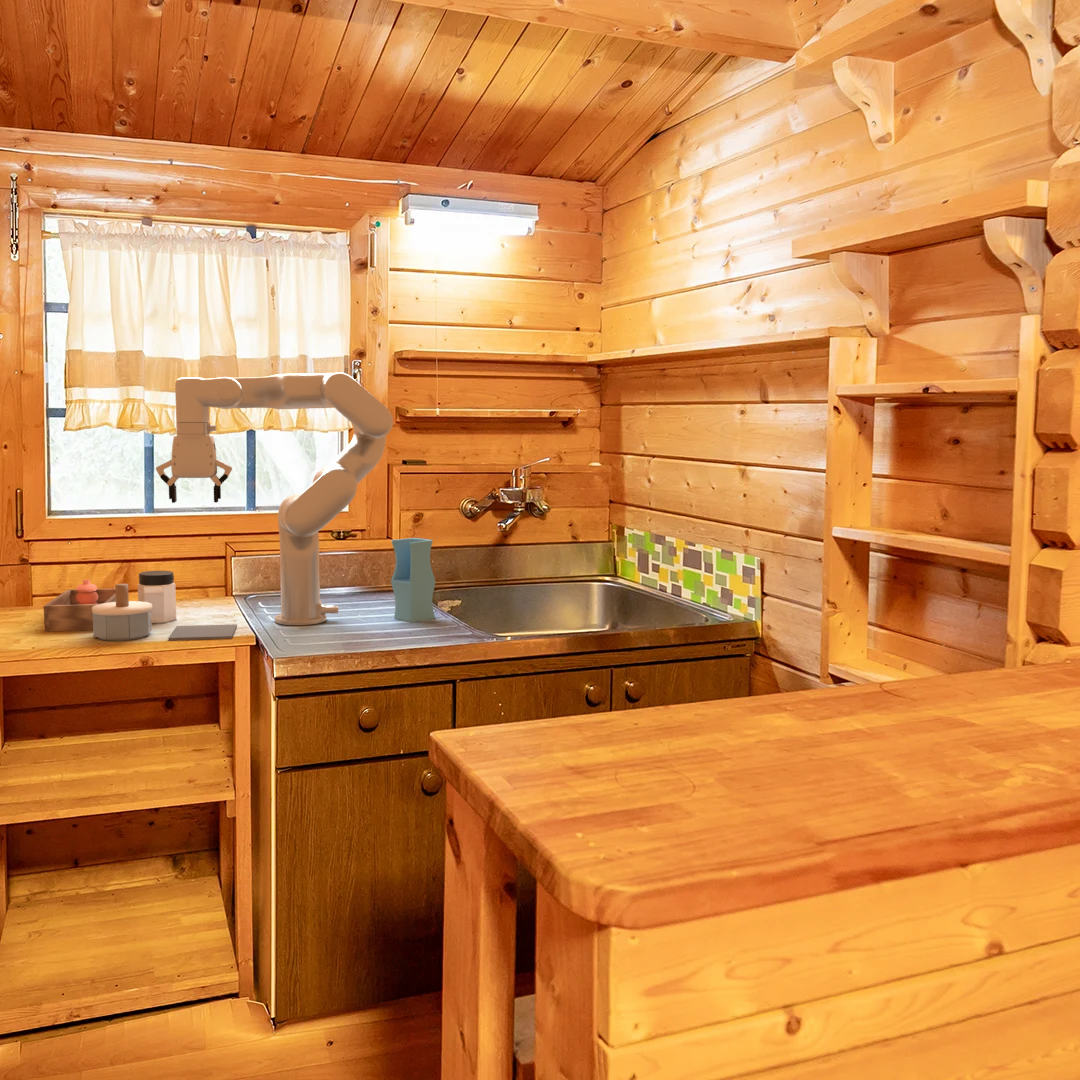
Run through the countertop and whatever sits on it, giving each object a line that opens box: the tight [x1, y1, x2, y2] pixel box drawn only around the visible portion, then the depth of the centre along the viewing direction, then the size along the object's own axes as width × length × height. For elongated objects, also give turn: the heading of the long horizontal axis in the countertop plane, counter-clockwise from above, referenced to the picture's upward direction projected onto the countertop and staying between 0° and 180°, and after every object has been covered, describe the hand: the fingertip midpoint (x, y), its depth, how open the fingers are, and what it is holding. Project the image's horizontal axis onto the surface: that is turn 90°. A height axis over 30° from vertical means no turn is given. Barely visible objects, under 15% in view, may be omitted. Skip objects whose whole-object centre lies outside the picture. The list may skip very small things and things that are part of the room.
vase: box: [390, 537, 436, 623], centre depth 278 cm, size 8×8×20 cm
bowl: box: [92, 611, 153, 642], centre depth 254 cm, size 12×12×6 cm
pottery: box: [76, 579, 98, 605], centre depth 269 cm, size 18×10×10 cm, turn 11°
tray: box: [43, 588, 116, 632], centre depth 271 cm, size 14×24×6 cm, turn 11°
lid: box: [92, 583, 152, 616], centre depth 253 cm, size 13×13×6 cm
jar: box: [137, 570, 177, 624], centre depth 272 cm, size 9×8×12 cm
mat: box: [167, 623, 238, 641], centre depth 258 cm, size 14×14×1 cm
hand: (195, 502), depth 262 cm, fingers open, 9 cm apart
